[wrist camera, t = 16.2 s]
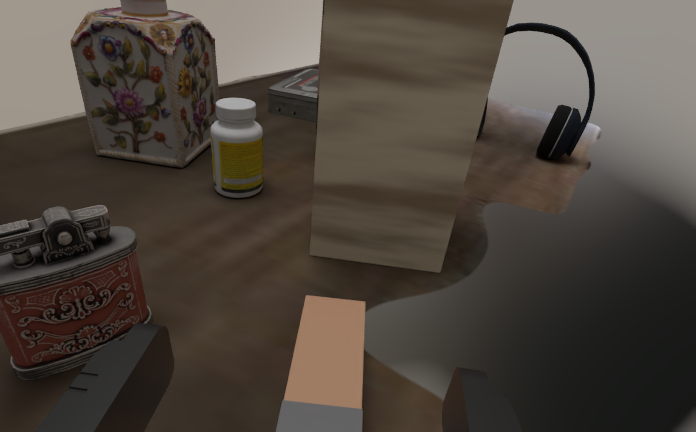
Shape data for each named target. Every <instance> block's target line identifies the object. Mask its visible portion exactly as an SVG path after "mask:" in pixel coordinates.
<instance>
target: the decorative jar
mask: <svg viewBox="0 0 696 432" xmlns="http://www.w3.org/2000/svg"><path fill="white" fill-rule="evenodd" d="M71 48H72V52H73V57H74V61H75V66H76V70H77V75H78V80H79V84H80V89H81V93H82V97H83V102H84V106H85V111H86V115H87V119H88V122H89V127H90V131H91V135H92V139H93V143H94V146H95V150H96V154H97V155H100V156H108V157H114V158H120V159H126V160H133V161H139V162H145V163H151V164H158V165H165V166H172V167H178V168H183V167H184V166H186V165H187V164H188V163H189V162H190V161H191V160H193V159H194V158H195V157H196V156H197V155H199V154H200V153H201V152H202V151H203V150H205V149H206V148H207V147H208V146H209V145H211V135H210V129H211V126H212V124H213V123H214V122H216V121H217V120H219V119H218V118H217V116H216V102H217V101H218V100H219V90H218V78H217V66H216V55H215V39H214V38H213V37H212V36H211V34H210V32H209V31H208V29H206V27H205V26H204V25H203V24H202V22H201V21H200V20H199V19H197V18H195V17H194V16H192V15H189V14H185V13H181V12H176V11H171V10H167V5H166V0H121V7H119V8H109V9H103V10H95V11H90V12H88V13H87V14H86V16H85V17H84V19H83V21H82V22H81V23H80V25H79V27H78V29H77V30H76V31H75V34H74V36H73V38H72V39H71Z"/></svg>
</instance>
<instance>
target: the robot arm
mask: <svg viewBox="0 0 696 432" xmlns="http://www.w3.org/2000/svg"><path fill="white" fill-rule="evenodd" d="M173 370H174V358H173V353H172V348H171V343H170V338H169V333H168V329H167V327H165V326H159V325H152V324H145V323H136V324H135V325H134V326H133V327H132V328H131V329H130V331H129V332H128V334H127V335H126V336H125V338H124V339H123V341H119V340H112V341H111V342H109V343H108V344H107V345H105V346H104V347H103V348H101V349H100V350H99V351H97V352H96V353H95V354H94V355H93V356H92V357H91V359H90V360H89V361H88V363H87V364H86V365H85V367H84V368H83V369H82V370H81V373H80V375H78V376H77V377H76V378H75V380H74V381H73V382H72V384H71V385H70V386H69V387H70V388H69V390H66V392H65V393H64V394H63V396H62V397H61V398H60V400H59V401H58V402H57V404H56V405H55V406H54V408H53V409H52V410H51V412H50V413H49V414H48V415H47V417H46V418H45V419H44V421H43V422H42V423H41V425H40V426H39V427H38V429H37V430H36V431H35V432H144V431H145V429H146V427H147V425H148V423H149V421H150V419H151V417H152V415H153V414H154V412H155V410H156V408H157V406H158V404H159V402H160V400H161V398H162V397H163V395H164V393H165V391H166V389H167V387H168V385H169V383H170V381H171V378H172V375H173ZM442 426H443V432H521V429H520V425H519V421H518V417H517V414H516V413H515V411H514V410H513V408H512V407H511V405H510V404H509V402H508V400H507V399H506V397H505V396H504V395H497V394H491V390H490V386H489V381H488V377H487V374H486V373H485V372H484V371H479V370H472V369H465V368H456V369H455V371H454V374H453V377H452V380H451V383H450V385H449V388H448V391H447V393H446V396H445V399H444V403H443V410H442Z"/></svg>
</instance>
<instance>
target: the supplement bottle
mask: <svg viewBox="0 0 696 432" xmlns="http://www.w3.org/2000/svg"><path fill="white" fill-rule="evenodd" d="M216 116H217V118H218V119H219V120H217V121H216V122H214V123H213V124H212V126H211V129H210V135H211V148H212V163H213V176H214V187H215V189H216V191H217V192H218V193H220V194H222V195H224V196H227V197H232V198H244V197H249V196H252V195H255V194H257V193H258V192H260V191H261V189H262V187H263V132H262V128H261V126H260V125H259V124H258V123H257V122H256V121H254V119H255V117H256V104H255V103H254V102H253V101H251V100H248V99H243V98H225V99H221V100H218V101H217V102H216Z"/></svg>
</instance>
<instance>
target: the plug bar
mask: <svg viewBox="0 0 696 432" xmlns="http://www.w3.org/2000/svg"><path fill="white" fill-rule="evenodd" d="M364 323H365V302H363V301H354V300H345V299H336V298H327V297H318V296H309V295H306V298H305V303H304V308H303V312H302V317H301V322H300V327H299V331H298V336H297V341H296V345H295V350H294V355H293V359H292V364H291V369H290V373H289V378H288V383H287V387H286V392H285V397H284V400H282V405H281V410H280V414H279V419H278V423H277V428H276V432H362V418H363V409H362V384H363V355H364V327H365V325H364Z"/></svg>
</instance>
